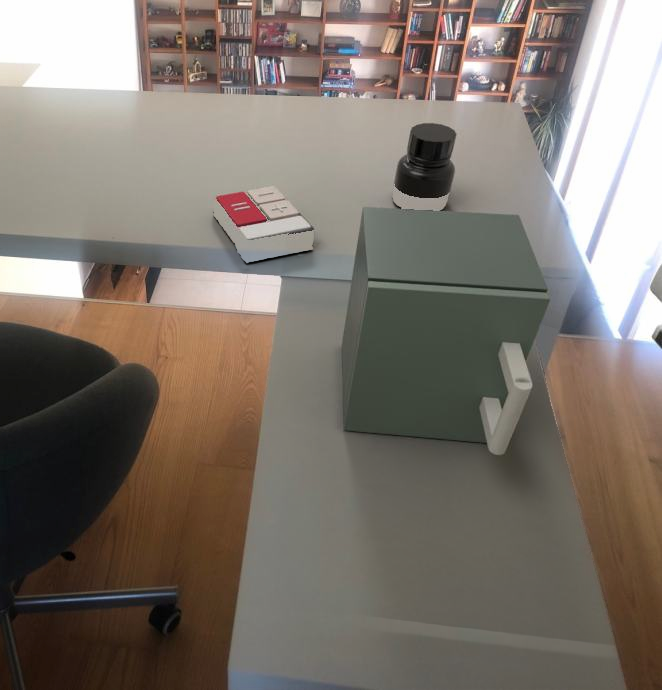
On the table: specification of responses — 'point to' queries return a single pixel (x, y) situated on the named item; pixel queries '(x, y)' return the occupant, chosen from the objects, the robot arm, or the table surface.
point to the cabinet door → (443, 362)
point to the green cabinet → (435, 259)
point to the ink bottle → (427, 162)
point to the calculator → (271, 205)
